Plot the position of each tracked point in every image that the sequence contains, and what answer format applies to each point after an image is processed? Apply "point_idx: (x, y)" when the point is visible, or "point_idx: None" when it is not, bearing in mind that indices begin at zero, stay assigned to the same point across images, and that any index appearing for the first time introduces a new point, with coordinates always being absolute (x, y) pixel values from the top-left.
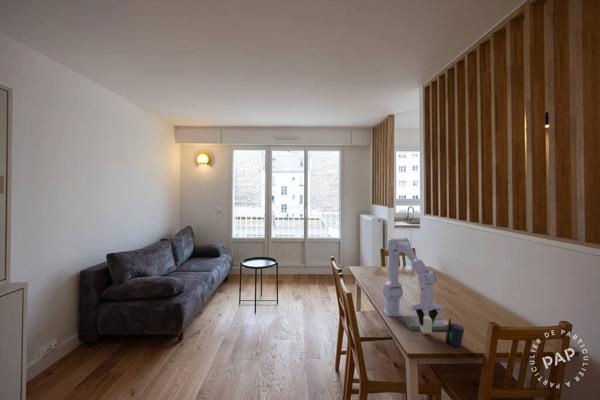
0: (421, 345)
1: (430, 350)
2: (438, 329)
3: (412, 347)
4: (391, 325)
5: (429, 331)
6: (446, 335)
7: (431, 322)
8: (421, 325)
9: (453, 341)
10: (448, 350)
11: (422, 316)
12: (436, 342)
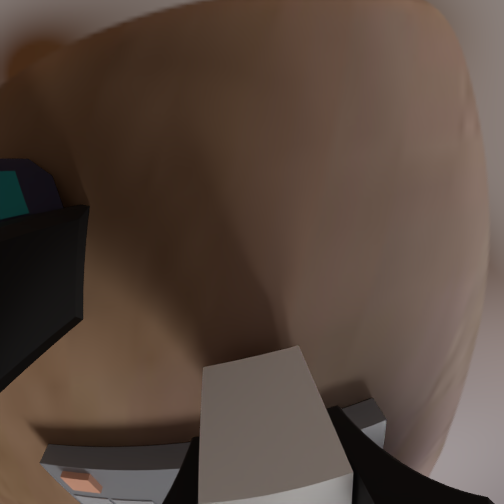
0: (360, 106)
1: (290, 19)
2: (136, 450)
3: (433, 69)
4: (455, 406)
5: (232, 371)
6: (60, 330)
7: (209, 463)
8: (340, 408)
9: (9, 164)
10: (104, 61)
11: (402, 500)
12: (180, 211)
